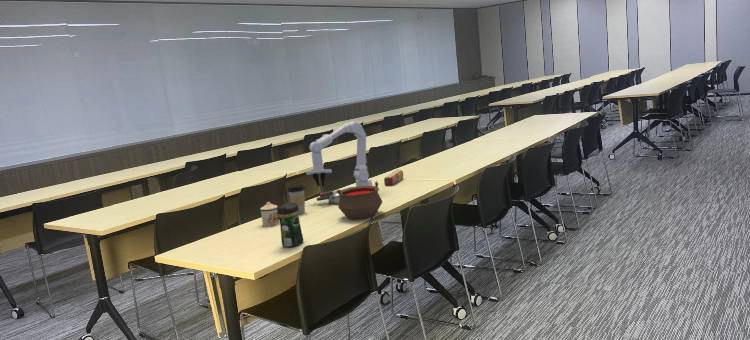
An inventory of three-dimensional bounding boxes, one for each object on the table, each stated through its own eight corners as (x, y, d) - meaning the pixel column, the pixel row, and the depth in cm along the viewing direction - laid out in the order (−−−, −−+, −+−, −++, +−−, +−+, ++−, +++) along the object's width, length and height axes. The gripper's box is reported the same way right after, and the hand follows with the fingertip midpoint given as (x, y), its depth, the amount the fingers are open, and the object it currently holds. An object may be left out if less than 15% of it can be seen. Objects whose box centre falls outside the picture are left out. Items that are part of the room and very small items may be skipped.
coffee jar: (292, 240, 261) (286, 201, 258) (306, 241, 257) (300, 201, 254) (279, 247, 253) (273, 206, 249) (293, 248, 249) (287, 207, 246)
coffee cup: (310, 210, 316) (307, 184, 313) (303, 215, 307) (299, 188, 305) (295, 211, 319) (291, 185, 317) (287, 215, 310) (283, 188, 308)
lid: (340, 190, 339) (339, 184, 338) (355, 192, 329) (354, 186, 328) (313, 198, 326) (313, 192, 325) (328, 200, 316) (327, 194, 315)
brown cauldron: (350, 225, 276) (346, 192, 273) (330, 217, 297) (326, 186, 294) (393, 215, 286) (390, 183, 283) (371, 207, 307) (368, 177, 304)
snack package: (393, 186, 358) (392, 175, 357) (383, 186, 360) (382, 176, 359) (404, 179, 377) (403, 169, 376) (394, 179, 380) (393, 169, 379)
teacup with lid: (269, 227, 289) (266, 205, 287) (259, 225, 296) (255, 203, 294) (288, 221, 298) (285, 199, 296) (277, 219, 304) (274, 198, 302)
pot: (352, 197, 338) (351, 190, 337) (356, 201, 325) (356, 194, 325) (316, 203, 334) (315, 195, 333) (319, 207, 321) (318, 200, 320)
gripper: (331, 160, 330) (334, 183, 332) (307, 162, 332) (310, 185, 335) (328, 162, 323) (331, 186, 325) (304, 164, 326) (307, 188, 328)
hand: (320, 186), depth 330 cm, fingers closed
